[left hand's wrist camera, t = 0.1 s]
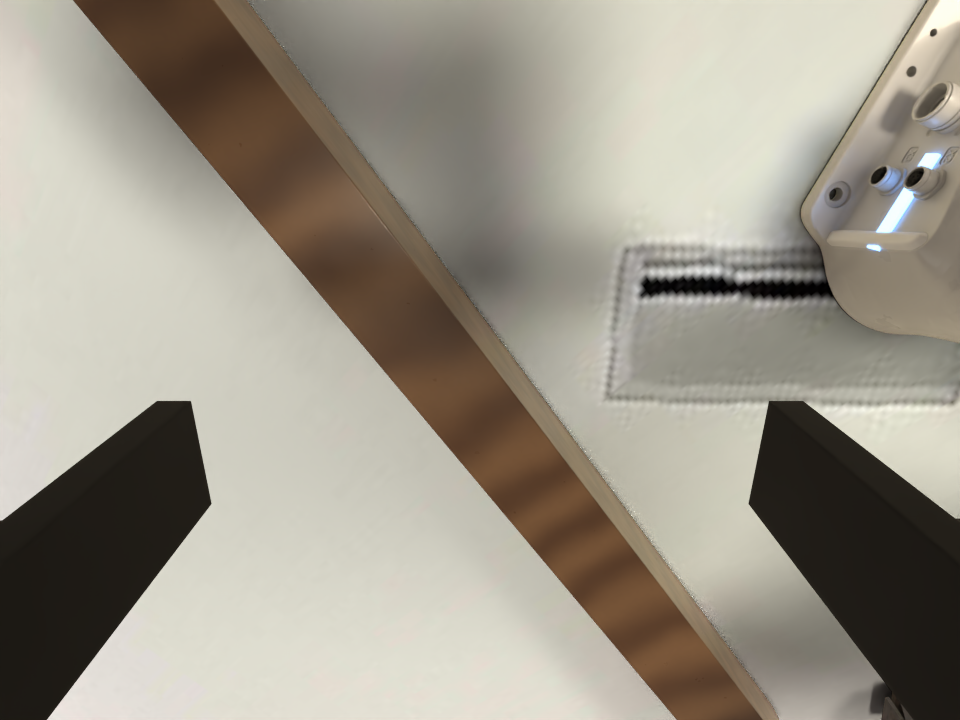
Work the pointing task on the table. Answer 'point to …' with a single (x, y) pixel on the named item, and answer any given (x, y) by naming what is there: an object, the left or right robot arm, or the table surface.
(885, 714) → the toy
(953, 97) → the right robot arm
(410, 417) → the table surface
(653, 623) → the post
